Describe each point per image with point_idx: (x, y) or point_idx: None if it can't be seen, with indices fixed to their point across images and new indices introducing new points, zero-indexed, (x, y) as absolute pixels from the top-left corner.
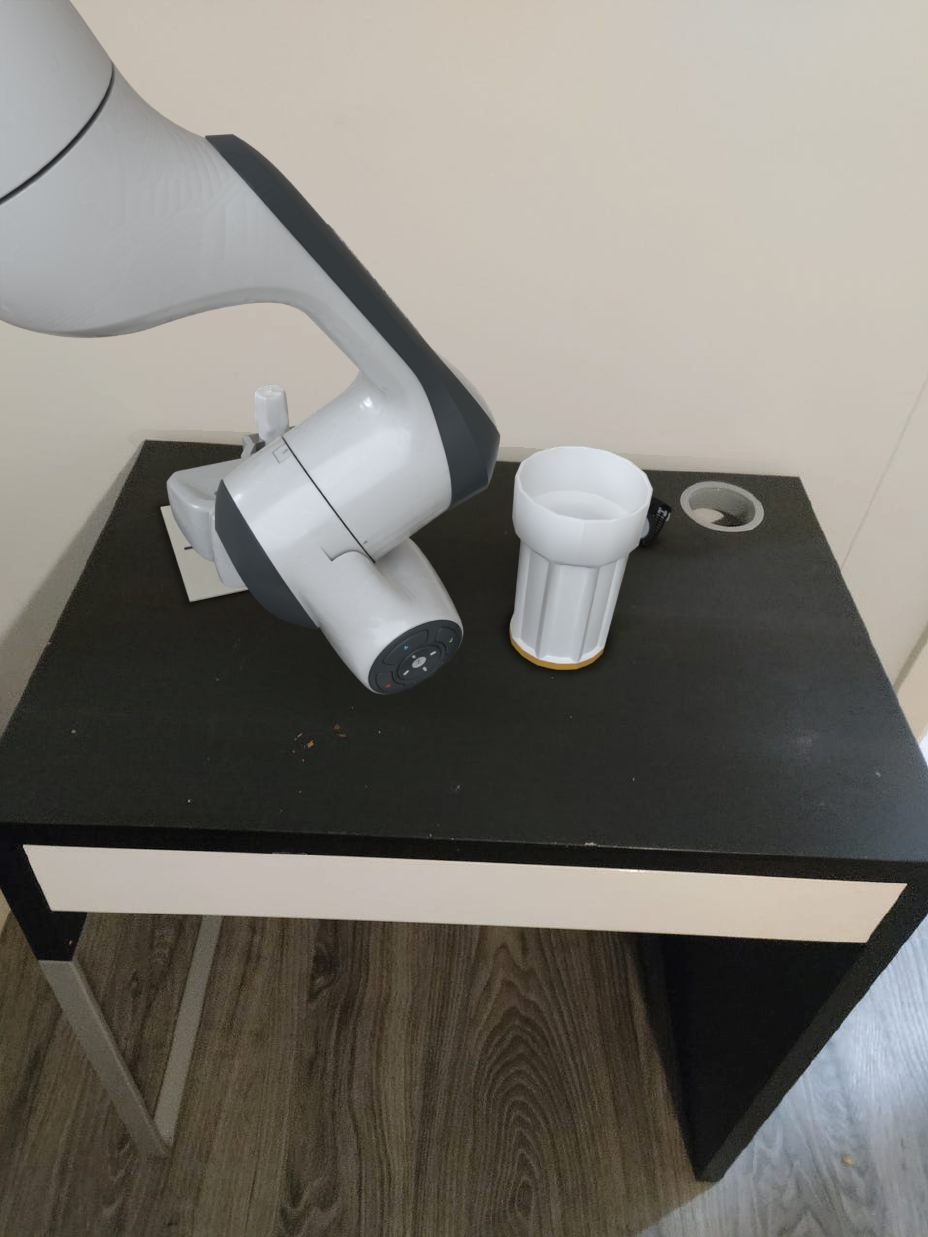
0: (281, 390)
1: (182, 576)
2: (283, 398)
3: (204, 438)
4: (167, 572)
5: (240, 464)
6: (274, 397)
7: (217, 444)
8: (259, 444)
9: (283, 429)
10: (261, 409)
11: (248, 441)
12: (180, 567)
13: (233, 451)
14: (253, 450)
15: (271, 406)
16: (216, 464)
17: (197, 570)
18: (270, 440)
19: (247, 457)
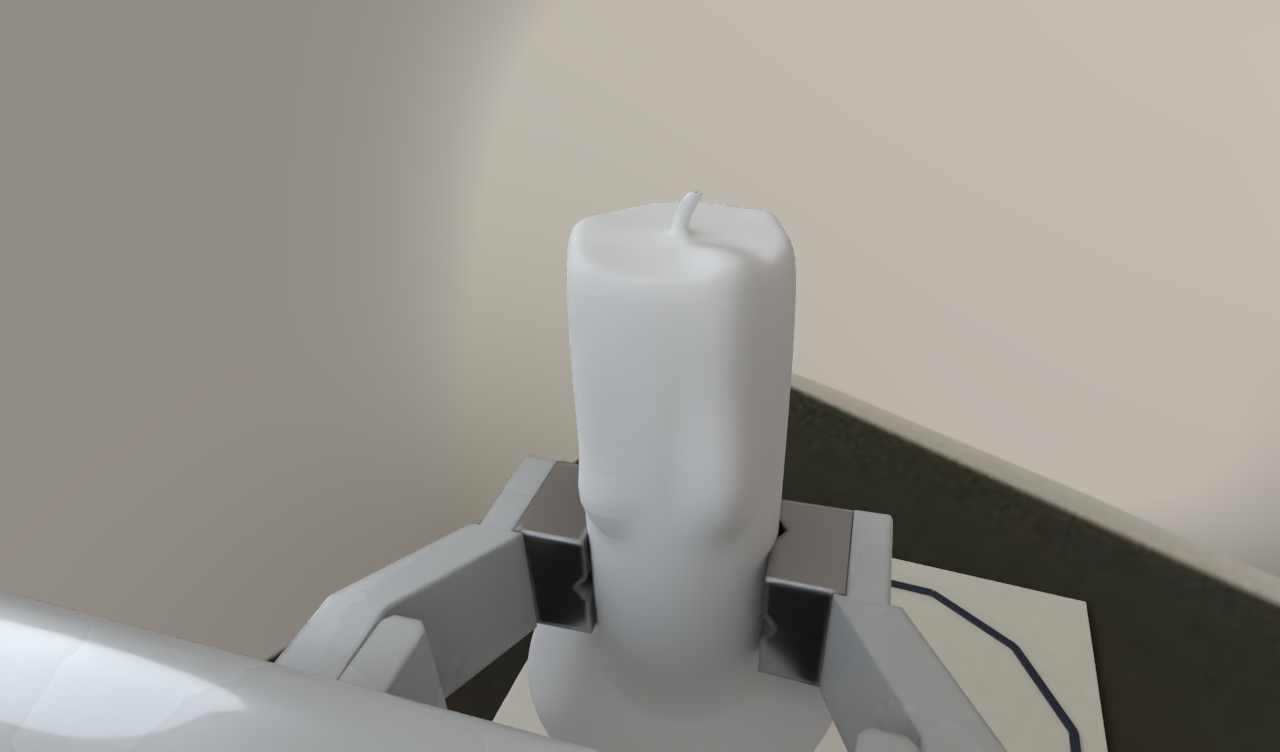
0: (759, 252)
1: (494, 718)
2: (725, 311)
3: (814, 386)
4: (485, 679)
5: (80, 725)
6: (650, 281)
7: (830, 406)
8: (549, 548)
9: (693, 530)
10: (572, 346)
11: (505, 505)
12: (515, 684)
13: (851, 432)
14: (470, 579)
15: (613, 345)
16: (20, 622)
17: (538, 719)
18: (608, 556)
19: (227, 669)
